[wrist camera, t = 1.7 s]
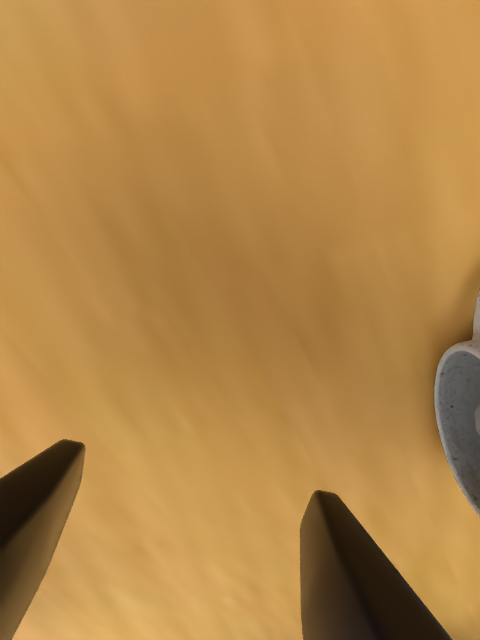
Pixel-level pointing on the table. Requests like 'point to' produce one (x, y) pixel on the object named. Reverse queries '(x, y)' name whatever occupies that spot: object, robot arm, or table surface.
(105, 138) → the table surface
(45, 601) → the table surface
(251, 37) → the table surface
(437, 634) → the robot arm
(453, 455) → the ceramic mug
